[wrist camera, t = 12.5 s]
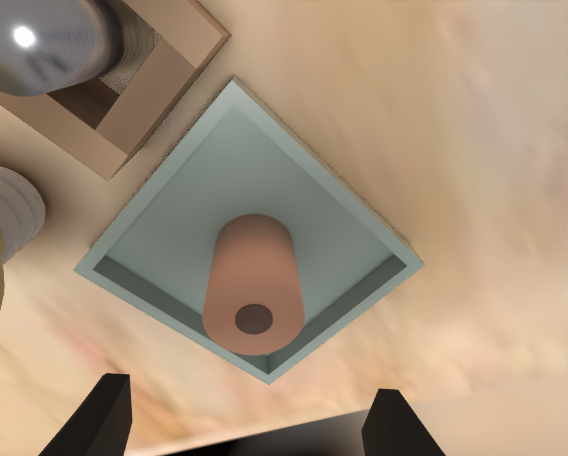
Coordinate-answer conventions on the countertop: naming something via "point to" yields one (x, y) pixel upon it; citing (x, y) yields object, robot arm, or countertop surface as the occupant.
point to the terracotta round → (253, 287)
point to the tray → (240, 201)
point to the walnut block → (127, 90)
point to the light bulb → (17, 216)
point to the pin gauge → (67, 43)
